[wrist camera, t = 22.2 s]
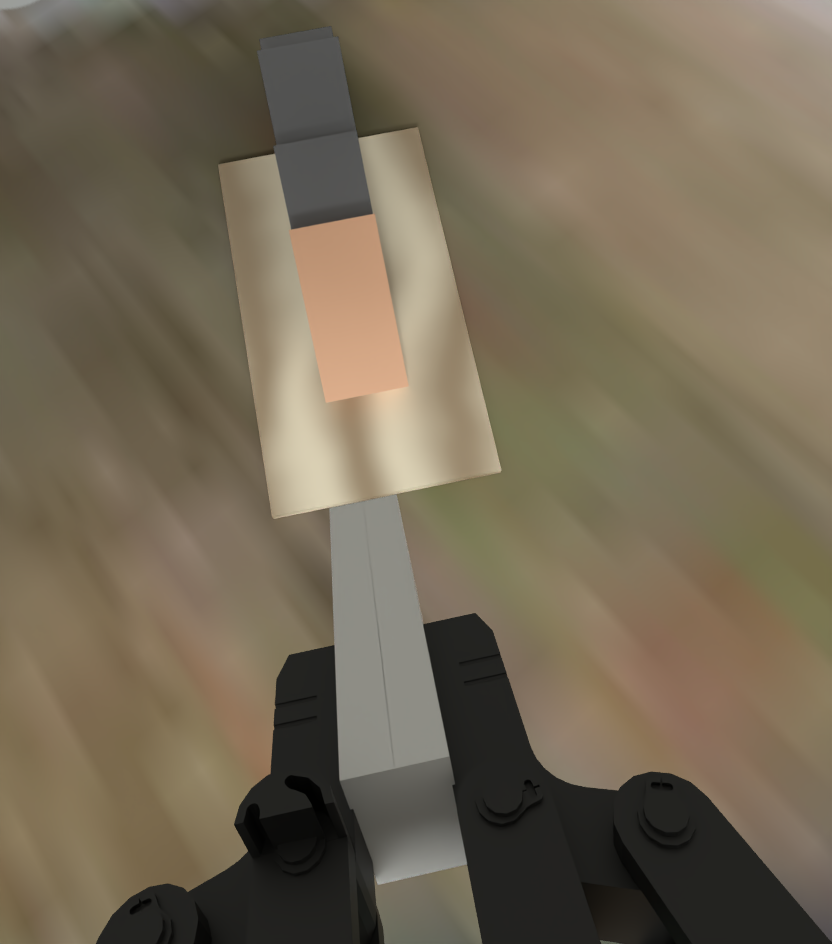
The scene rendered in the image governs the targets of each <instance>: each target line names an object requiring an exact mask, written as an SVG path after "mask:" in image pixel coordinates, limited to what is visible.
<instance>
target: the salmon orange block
mask: <svg viewBox="0 0 832 944" xmlns="http://www.w3.org/2000/svg"><path fill="white" fill-rule="evenodd" d="M289 234H290V238H291V243H292V248H293V252H294V257H295V262H296V266H297V271H298V275H299V280H300V285H301V289H302V294H303V299H304V303H305V308H306V313H307V317H308V322H309V327H310V331H311V336H312V341H313V345H314V350H315V355H316V359H317V364H318V369H319V373H320V378H321V383H322V387H323V392H324V397H325V401H326V403H328V402H333V401H338V400H343V399H348V398H353V397H358V396H363V395H368V394H373V393H378V392H383V391H388V390H393V389H398V388H403V387H408V386H409V385H408V380H407V375H406V370H405V365H404V360H403V354H402V349H401V344H400V339H399V334H398V329H397V324H396V319H395V314H394V309H393V304H392V299H391V294H390V289H389V284H388V278H387V273H386V268H385V263H384V258H383V253H382V248H381V243H380V238H379V233H378V228H377V223H376V218H375V214H370V215H365V216H360V217H355V218H349V219H344V220H339V221H334V222H328V223H323V224H318V225H313V226H308V227H302V228H297V229H292V230H289Z"/></svg>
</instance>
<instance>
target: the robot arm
mask: <svg viewBox="0 0 832 944" xmlns="http://www.w3.org/2000/svg"><path fill="white" fill-rule="evenodd" d="M330 533H331V560H332V588H333V615H334V642H335V645H333V646H328V647H324V648H319V649H314V650H310V651H305V652H300V653H296V654H291V655H289V656H288V658H287V660H286V662H285V664H284V666H283V668H282V670H281V672H280V674H279V676H278V677H277V681H276V697H275V706H276V709H275V713H274V730H273V744H272V760H271V774H270V775H267V776H266V777H265V778H264V779H262V780H261V781H260V782H259V783H257V784H256V785H255V786H254V787H253V788H251V790H250V791H249V793H248V794H247V796H246V797H245V798H244V800H243V801H242V803H241V804H240V806H239V809H238V813H237V816H236V820H235V823H234V826H235V827H236V829H237V831H238V833H239V835H240V837H241V838H242V840H243V842H244V844H245V846H246V848H247V849H248V852H247V853H246V854H245V855H244V856H243V857H242V858H241V859H240V860H239V861H238V862H236V863H235V864H234V865H232V866H231V867H229V868H228V869H227V870H225V871H223V872H222V873H220V874H218V875H216V876H215V877H213V878H211V879H210V880H208V881H206V882H204V883H203V884H201V885H199V886H197V887H196V888H194V889H192V890H191V891H189V892H187V891H186V890H185V889H184V888H182V887H178V886H175V885H171V884H163V885H157V886H152V887H148V888H146V889H145V890H143V891H141V892H139V893H138V894H136V895H134V896H132V897H131V898H129V899H128V900H127V901H126V902H125V903H124V904H123V905H122V906H121V907H120V908H119V909H118V910H117V911H116V912H115V913H114V914H113V915H112V916H111V918H110V920H109V921H108V923H107V925H106V926H105V928H104V930H103V931H102V933H101V935H100V936H99V938H98V940H97V943H96V944H384V935H383V926H382V923H381V919H380V915H379V912H378V909H377V906H376V898H375V884H374V875H375V878H376V881H377V883H378V885H379V884H383V883H388V882H392V881H396V880H401V879H405V878H410V877H414V876H418V875H423V874H427V873H431V872H436V871H440V870H445V869H449V868H453V867H458V866H462V865H466V864H467V866H468V871H469V876H470V881H471V887H472V892H473V897H474V902H475V907H476V912H477V918H478V923H479V928H480V933H481V938H482V943H483V944H601V942H600V940H603V941H610V942H616V943H622V944H832V942H831V941H830V940H829V939H828V938H827V937H826V935H825V934H824V933H823V932H822V931H821V930H820V928H819V927H818V926H817V925H816V924H815V922H814V921H813V920H812V919H811V918H810V917H809V915H808V914H807V913H806V912H805V911H804V910H803V908H802V907H801V906H800V905H799V904H798V903H797V901H796V900H795V899H794V898H793V897H792V895H791V894H790V893H789V892H788V891H787V890H786V888H785V887H784V886H783V885H782V884H781V883H780V881H779V880H778V879H777V878H776V877H775V876H774V874H773V873H772V872H771V871H770V870H769V868H768V867H767V866H766V865H765V864H764V863H763V861H762V860H761V859H760V858H759V857H758V856H757V854H756V853H755V852H754V851H753V850H752V849H751V847H750V846H749V845H748V844H747V843H746V841H745V840H744V839H743V838H742V837H741V836H740V834H739V833H738V832H737V831H736V830H735V829H734V827H733V826H732V825H731V824H730V823H729V822H728V820H727V819H726V818H725V817H724V816H723V814H722V813H721V812H720V811H719V810H718V809H717V807H716V806H715V805H714V804H713V803H712V802H711V800H710V799H709V798H708V797H707V796H706V795H705V794H704V793H703V792H701V791H700V790H699V789H698V788H697V787H696V786H694V785H693V784H692V783H691V782H689V781H687V780H684V779H682V778H680V777H678V776H675V775H673V774H670V773H660V772H648V773H644V774H640V775H637V776H633V777H632V778H631V779H630V780H628V781H627V782H626V783H625V784H623V785H622V786H621V787H620V789H619V791H617V790H607V789H598V788H588V787H582V786H577V785H573V784H569V783H567V782H565V781H563V780H560V779H558V778H556V777H555V776H554V775H552V774H551V773H550V772H548V771H547V770H546V769H545V768H544V767H543V766H542V765H541V764H540V762H539V761H538V760H537V759H536V757H535V755H534V753H533V751H532V749H531V746H530V743H529V740H528V737H527V734H526V731H525V728H524V725H523V722H522V719H521V716H520V713H519V710H518V707H517V704H516V701H515V698H514V694H513V691H512V688H511V685H510V682H509V679H508V677H507V674H506V670H505V667H504V664H503V661H502V658H501V656H500V652H499V649H498V646H497V643H496V639H495V636H494V633H493V631H492V630H491V629H490V628H489V626H488V625H487V624H486V623H485V622H484V621H483V620H482V619H481V618H480V617H479V616H478V615H477V614H476V613H473V614H469V615H464V616H459V617H455V618H450V619H446V620H441V621H436V622H432V623H427V624H423V619H422V614H421V609H420V604H419V599H418V594H417V589H416V584H415V580H414V575H413V570H412V565H411V561H410V556H409V551H408V547H407V542H406V537H405V532H404V528H403V523H402V518H401V513H400V509H399V504H398V499H397V494H396V495H391V496H387V497H382V498H377V499H372V500H367V501H363V502H358V503H353V504H348V505H343V506H339V507H334V508H330Z"/></svg>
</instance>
